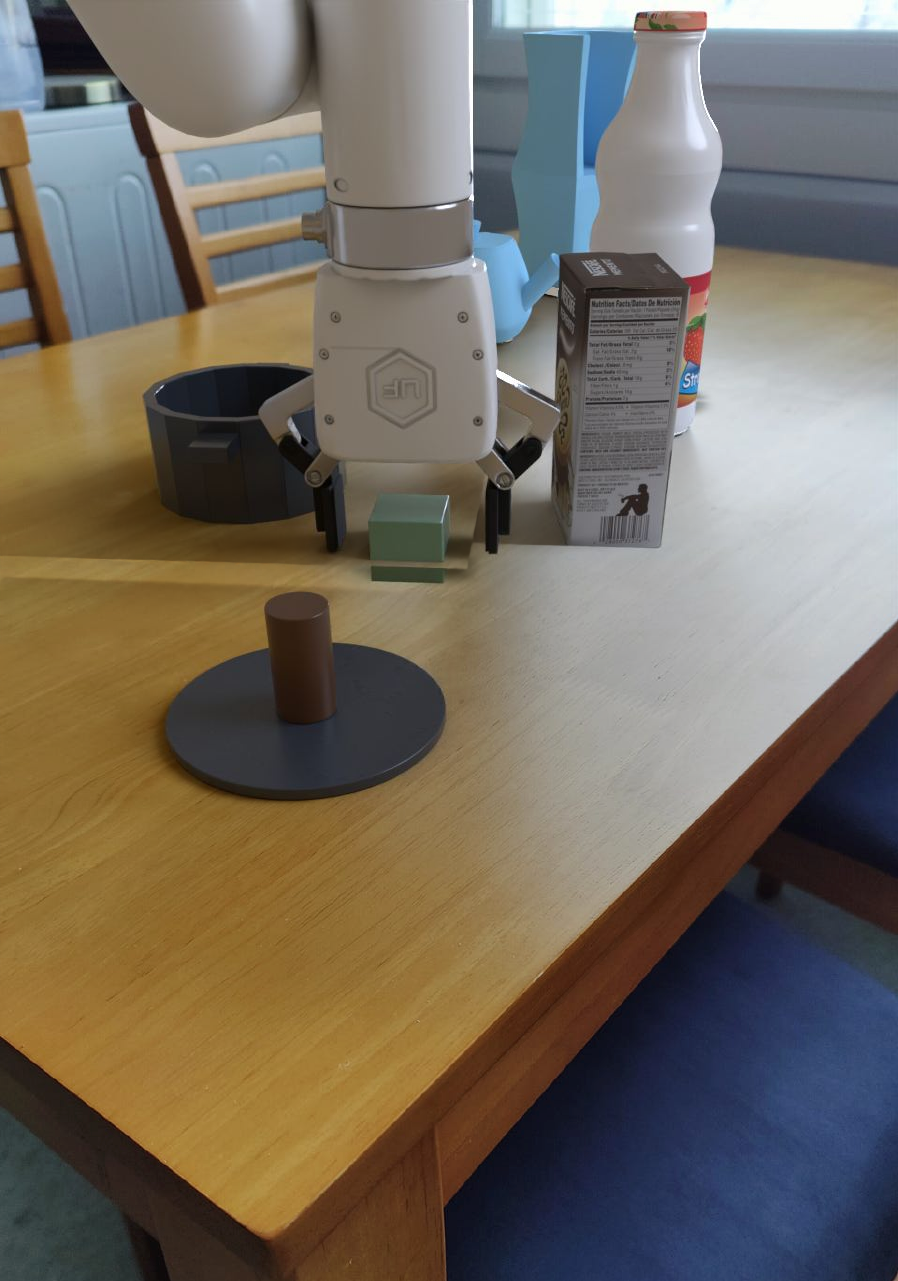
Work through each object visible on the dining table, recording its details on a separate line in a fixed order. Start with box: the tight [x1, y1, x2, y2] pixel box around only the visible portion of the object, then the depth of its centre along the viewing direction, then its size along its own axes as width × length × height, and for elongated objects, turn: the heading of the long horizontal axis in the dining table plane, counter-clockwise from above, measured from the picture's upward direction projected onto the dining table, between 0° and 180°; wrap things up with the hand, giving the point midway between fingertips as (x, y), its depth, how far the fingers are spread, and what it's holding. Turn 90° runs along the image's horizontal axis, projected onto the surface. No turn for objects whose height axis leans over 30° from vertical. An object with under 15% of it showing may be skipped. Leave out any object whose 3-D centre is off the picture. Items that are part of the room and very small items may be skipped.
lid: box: [165, 590, 447, 801], centre depth 54 cm, size 14×14×7 cm
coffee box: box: [550, 252, 691, 549], centre depth 72 cm, size 9×6×16 cm
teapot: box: [473, 219, 560, 344], centre depth 110 cm, size 15×14×11 cm
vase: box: [510, 29, 637, 288], centre depth 127 cm, size 10×10×25 cm
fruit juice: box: [588, 10, 724, 433], centre depth 85 cm, size 9×9×28 cm
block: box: [367, 493, 451, 584], centre depth 69 cm, size 4×4×4 cm
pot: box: [142, 362, 348, 525], centre depth 76 cm, size 13×18×8 cm
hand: (414, 543), depth 69 cm, fingers open, 9 cm apart
